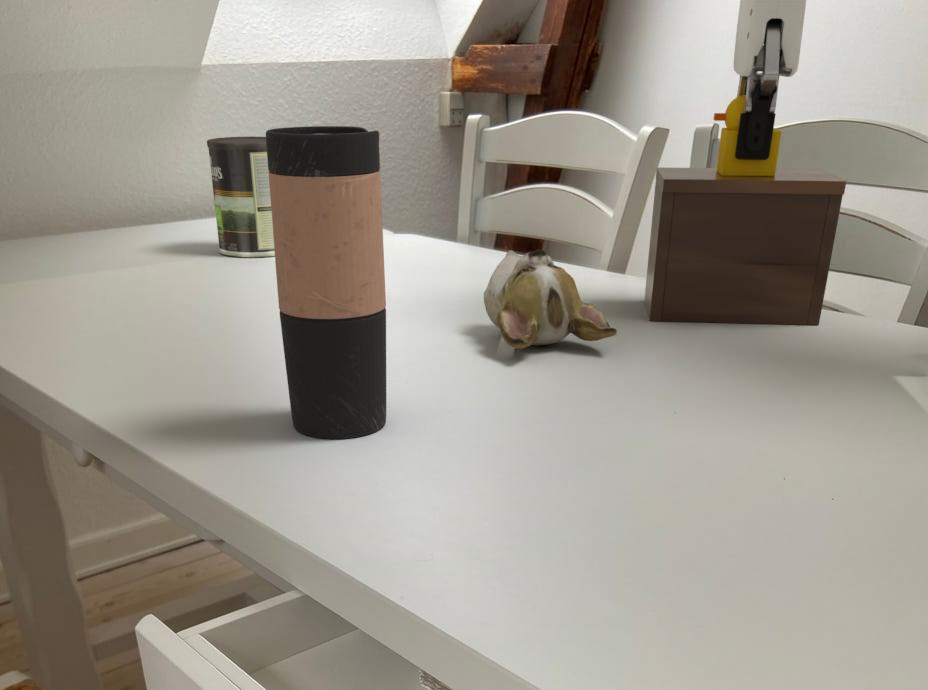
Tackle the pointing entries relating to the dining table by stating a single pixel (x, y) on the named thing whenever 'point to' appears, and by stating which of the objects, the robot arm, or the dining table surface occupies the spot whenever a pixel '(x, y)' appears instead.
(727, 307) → the wooden nightstand cabinet
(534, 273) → the ceramic sculpture
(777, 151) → the duck
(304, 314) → the travel mug
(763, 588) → the dining table surface
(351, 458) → the dining table surface
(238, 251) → the coffee can
